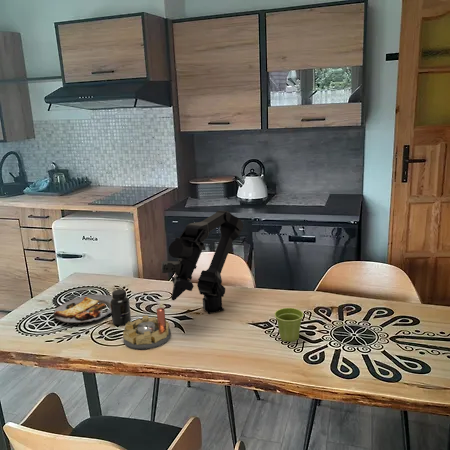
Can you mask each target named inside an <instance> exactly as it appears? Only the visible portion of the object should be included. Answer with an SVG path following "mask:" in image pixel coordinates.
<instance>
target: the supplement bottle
mask: <svg viewBox="0 0 450 450" xmlns="http://www.w3.org/2000/svg"><path fill="white" fill-rule="evenodd" d="M126 292H127V291H126V290H125V289H116V290H113V291H112V293H111V296H112V298H113V299H112V300H111V302H110V305H111V313H110V314H111V321H112V324H113V325H115V326H119V327H120V326H126V323H127V322H132V316H131V305H130V303H131V302H130V299H129V298H128V297H127V294H126Z"/></svg>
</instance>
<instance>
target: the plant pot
mask: <svg viewBox="0 0 450 450" xmlns="http://www.w3.org/2000/svg"><path fill="white" fill-rule="evenodd" d="M274 317H275V319H276V321H277V322H276V323H277V326H278V332H279V336H280V339H281V340H282V342H289V343H293V342H296V341H298V339H299V337H300V330H301V325H302V324H301V323H302V320H303V317H304V313H303V311H302V310H300V309H298V308H294V307H283V308H280V309H278V310H276V311H275V312H274Z"/></svg>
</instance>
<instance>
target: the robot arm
mask: <svg viewBox="0 0 450 450" xmlns="http://www.w3.org/2000/svg"><path fill="white" fill-rule="evenodd" d="M218 227H220V228H219V231H220V238H219V241H218V243H217V246H216V249H215V251H214V254H213V256H212V258H211V261H210V264H209V267H208V268H207V269H206V270H202V271H201V272H200V275H199V277H198V279H197V280H198V281H197V283H196V285H197V289H198V291H199V295H201V296H203V298H202V308H203V309H204V311H205V312H206V313H207V314H214V313H218V312H223V311H224V310H225V308H224V307H223V297H224V295H225V294H226V287H225V286H224V285H223V284H222V283H223V279H222V275H221V273H222V271H223V268H224V266H225V263H226V260H227V257H228V255H229V253H230V250H231V246H232V244H233V243H234V242H233V241H235V240H236V239H237V238H239V237H240V235H241V233H242V231H243V230H244V223H243V221H242V220H241V219H240V218H239V217H237V216H235V215H234V214H232V213H231V212H230V211H227V210H217V211H216V212H215V213H213V214H212V215H210V216H208V217H207V218H205V219H203V220H202V221H199V222H196V221H195V222H191V223H188V224H187V225H186V226H185V228H184V230H183V231H182V232H181V234H180V236H179V237H175V240H174V241H172V242H171V243H170V245H169V246H168V253H169V256H171V258H173V259H178V261H176V260H175V261H171V260H162V261H161V273H162V274H167V273H169V274H171V275H173V274H174V276H171V281H172V283H173V285H172V286H173V287H172V294H171V298H170V299H171V301H175V300H177V299H178V298H179V297H180V296H181V295H182V294H183V293H184V292H185V291H188V292H192V291H193V289H194V287H195V286H194V283H193V281H192V279H193V276H192V275H193V273H194V271H195V270H196V269H197V267H198V266H197V264H198V261H199V259H200V257H201V255H202V252H203V251H206V247H205V243H204V242H205V241H206V240H207V238H209V235H210V233H211V232H212V231H214V230H215V229H217V228H218Z"/></svg>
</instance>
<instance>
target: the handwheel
mask: <svg viewBox="0 0 450 450" xmlns="http://www.w3.org/2000/svg"><path fill="white" fill-rule="evenodd" d="M165 311H166V310H165V308H164V307H158V308H156V316H154V317H149V315H142V318H141V319H140V318H138V319H136V320H134V321H130V322H127V323H126V325H124V326H125V327H124V330H123V332H122V334H123V336H124V339H125V340H126V341H128V342H130V343H132V344H135V343H136V345H142V344H152V342H154V343H156V342H158V341H160V340H162V339H164V338H166V337H167V335H168V334H169V328H170V323H169V321H168V320H167V319H166V318H167V317H166V314H165V313H166V312H165ZM142 322H154V323H155V327H156V328H158V330H157V331H155V332H153V333H151V334H150V331H147V332H144V334H141V335H139V334H137V333H136V330H138V328H137V326H138V325H139V324H140V323H142ZM123 336H122V337H123ZM124 339H123V340H124Z"/></svg>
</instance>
